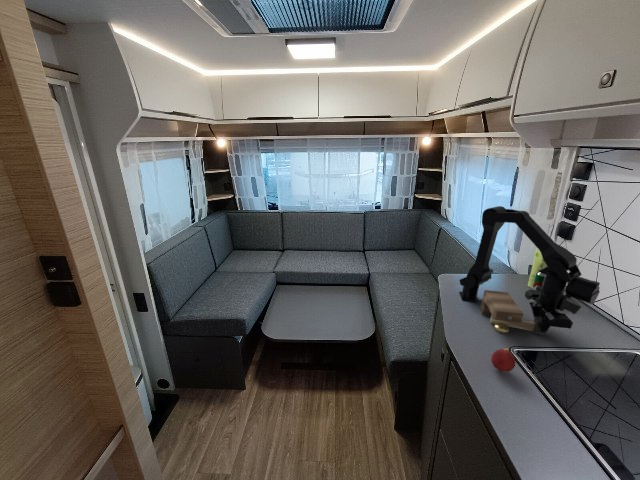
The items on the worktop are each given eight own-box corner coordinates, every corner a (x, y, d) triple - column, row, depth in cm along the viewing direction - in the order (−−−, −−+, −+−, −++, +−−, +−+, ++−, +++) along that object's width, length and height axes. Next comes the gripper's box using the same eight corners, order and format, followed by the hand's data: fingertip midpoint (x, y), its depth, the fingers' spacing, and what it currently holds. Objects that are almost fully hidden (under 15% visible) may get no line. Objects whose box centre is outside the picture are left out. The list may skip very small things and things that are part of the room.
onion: (493, 377, 83) (499, 355, 80) (485, 362, 88) (491, 340, 86) (515, 379, 82) (522, 357, 79) (506, 364, 88) (512, 342, 85)
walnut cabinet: (479, 310, 114) (484, 290, 111) (502, 312, 112) (507, 292, 109) (492, 334, 100) (498, 312, 97) (518, 338, 99) (524, 315, 95)
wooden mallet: (489, 319, 107) (492, 308, 105) (543, 329, 102) (547, 317, 100) (490, 324, 105) (493, 313, 103) (545, 335, 99) (550, 323, 97)
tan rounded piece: (492, 325, 105) (493, 321, 105) (505, 327, 104) (506, 323, 104) (496, 333, 101) (497, 329, 101) (510, 334, 100) (511, 331, 100)
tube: (525, 287, 131) (537, 247, 124) (526, 282, 134) (537, 243, 127) (541, 291, 128) (554, 250, 121) (541, 286, 131) (553, 246, 125)
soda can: (546, 301, 120) (554, 275, 115) (532, 300, 121) (540, 274, 116) (540, 295, 124) (548, 270, 120) (527, 293, 125) (534, 268, 121)
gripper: (600, 307, 85) (583, 350, 90) (565, 278, 102) (552, 315, 108) (557, 303, 87) (543, 345, 93) (529, 275, 104) (519, 311, 110)
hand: (540, 328), depth 101 cm, fingers closed on wooden mallet, 3 cm apart
